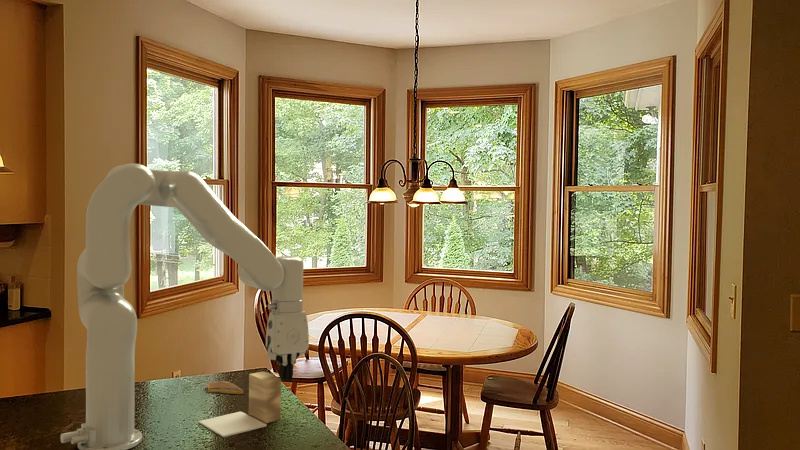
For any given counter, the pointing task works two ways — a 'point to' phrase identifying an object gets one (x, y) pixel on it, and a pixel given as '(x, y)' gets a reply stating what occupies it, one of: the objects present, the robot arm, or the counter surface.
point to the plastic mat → (232, 424)
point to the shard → (224, 387)
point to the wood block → (265, 396)
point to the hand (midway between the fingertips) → (286, 379)
